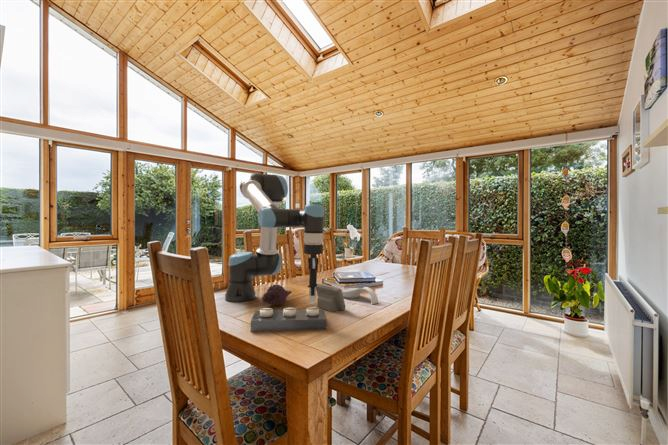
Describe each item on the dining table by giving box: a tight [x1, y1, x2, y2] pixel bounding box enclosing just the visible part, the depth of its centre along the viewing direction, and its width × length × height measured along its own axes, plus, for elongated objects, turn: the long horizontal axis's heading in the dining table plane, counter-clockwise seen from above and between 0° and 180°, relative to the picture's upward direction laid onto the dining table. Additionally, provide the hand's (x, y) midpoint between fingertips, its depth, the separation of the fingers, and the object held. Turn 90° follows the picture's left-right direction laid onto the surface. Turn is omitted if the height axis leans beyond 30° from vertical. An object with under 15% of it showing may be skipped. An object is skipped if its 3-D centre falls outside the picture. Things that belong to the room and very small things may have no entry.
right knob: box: [305, 306, 320, 316], centre depth 121 cm, size 5×5×6 cm
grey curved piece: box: [340, 286, 379, 305], centre depth 161 cm, size 24×12×7 cm, turn 43°
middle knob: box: [282, 307, 297, 317], centre depth 120 cm, size 5×5×6 cm
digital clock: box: [316, 283, 346, 312], centre depth 144 cm, size 16×9×11 cm, turn 36°
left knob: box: [259, 307, 274, 317], centre depth 119 cm, size 5×5×6 cm
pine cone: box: [261, 284, 292, 306], centre depth 146 cm, size 18×10×10 cm, turn 145°
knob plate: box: [250, 309, 328, 333], centre depth 120 cm, size 28×12×4 cm, turn 97°
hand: (312, 302), depth 122 cm, fingers closed
